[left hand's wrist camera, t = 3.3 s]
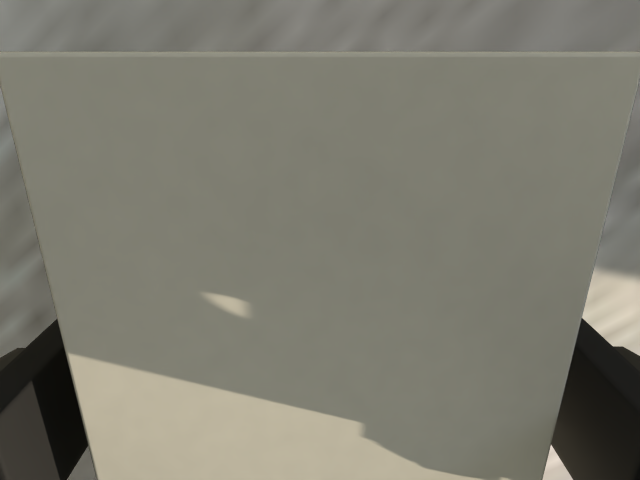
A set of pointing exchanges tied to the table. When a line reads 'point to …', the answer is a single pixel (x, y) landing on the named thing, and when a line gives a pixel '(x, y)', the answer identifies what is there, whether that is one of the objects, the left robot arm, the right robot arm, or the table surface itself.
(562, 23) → the table surface
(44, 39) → the table surface
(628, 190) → the table surface
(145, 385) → the thick board
